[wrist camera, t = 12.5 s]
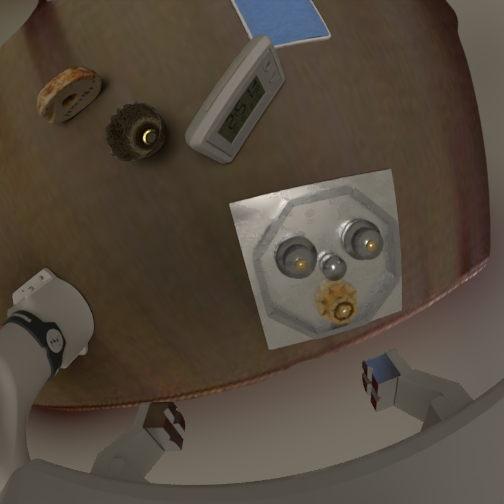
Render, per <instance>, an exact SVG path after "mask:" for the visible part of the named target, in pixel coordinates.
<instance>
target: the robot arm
mask: <svg viewBox="0 0 504 504" xmlns="http://www.w3.org/2000/svg"><path fill="white" fill-rule="evenodd" d="M13 303H14V306H12V307H11V308H10V309H9V310H8V318H7V319H6V320H5V322H4V324H3V325H1V326H0V504H504V379H502V380H501V381H500V382H498V383H497V384H496V385H495V386H493V387H492V388H490V389H489V390H488V391H486V392H485V393H484V394H482V395H481V396H479V397H478V398H477V399H475V400H473V399H472V398H471V397H470V396H469V394H468V393H467V392H466V391H465V389H464V388H463V387H462V386H461V385H460V383H457V382H454V381H450V380H447V379H444V378H441V377H437V376H434V375H431V374H428V373H425V372H422V371H419V370H416V369H415V370H412V369H411V368H410V366H409V365H408V364H407V362H406V361H405V360H404V359H403V357H402V356H401V355H400V353H399V352H398V351H397V350H396V349H392V350H390V351H387V352H385V353H382V354H380V355H377V356H374V357H372V358H369V359H366V360H363V362H362V368H363V370H364V373H363V374H362V381H363V386H364V389H365V391H366V393H367V394H368V395H370V396H371V403H372V405H373V407H374V409H375V411H376V412H377V411H380V410H383V409H385V408H388V407H390V406H393V405H394V406H395V407H397V408H399V409H401V410H402V411H404V412H406V413H408V414H410V415H411V416H413V417H415V418H417V419H419V420H421V421H423V422H424V423H423V426H422V428H421V431H420V432H419V433H417V434H415V435H413V436H411V437H408V438H406V439H404V440H402V441H400V442H398V443H395V444H393V445H390V446H388V447H386V448H383V449H381V450H378V451H375V452H373V453H370V454H368V455H365V456H362V457H359V458H356V459H353V460H350V461H347V462H344V463H340V464H337V465H334V466H330V467H326V468H322V469H319V470H315V471H310V472H306V473H302V474H297V475H292V476H287V477H282V478H276V479H269V480H262V481H254V482H246V483H234V484H219V485H170V484H155V483H150V482H148V481H147V480H146V479H145V478H144V477H145V475H146V474H147V473H148V472H149V471H150V470H151V468H152V467H153V466H154V465H155V463H156V462H157V461H158V460H159V459H160V457H161V456H162V455H163V454H164V451H181V450H182V445H183V438H182V437H181V435H182V434H183V433H184V432H185V420H184V417H183V415H182V414H181V413H180V412H178V411H177V410H176V408H177V406H176V405H175V404H174V402H152V403H142V404H141V405H140V407H139V410H138V412H137V415H136V418H135V421H134V424H133V426H132V428H129V429H128V430H127V431H125V433H123V434H122V435H121V436H119V437H118V438H117V439H116V440H115V441H114V442H112V443H111V444H110V445H109V446H107V447H106V448H105V449H104V450H103V451H101V452H100V453H99V454H98V455H97V457H96V460H95V462H94V465H93V468H92V470H91V473H85V472H81V471H77V470H73V469H70V468H66V467H63V466H59V465H56V464H53V463H50V462H47V461H44V460H41V459H34V460H31V459H30V456H29V453H28V448H27V440H26V425H27V418H28V414H29V411H30V408H31V406H32V404H33V402H34V400H35V398H36V396H37V395H38V393H39V392H40V390H41V388H42V387H43V385H44V384H45V383H46V381H48V380H50V379H51V378H52V377H53V376H55V375H56V373H57V372H58V370H59V368H67V367H68V366H69V364H70V363H71V362H72V361H73V360H74V359H75V358H76V357H77V356H78V355H85V354H86V353H87V352H88V342H89V340H90V338H91V337H92V335H93V331H94V321H93V316H92V313H91V310H90V308H89V306H88V304H87V302H86V301H85V299H84V298H83V297H82V295H81V294H80V293H79V292H78V291H77V290H76V289H75V288H74V287H73V286H72V285H70V284H69V283H67V282H65V281H63V280H61V279H59V278H58V277H56V276H55V275H54V274H53V273H52V272H51V271H50V270H49V269H48V268H44V269H42V270H41V271H40V272H39V273H37V274H36V275H35V276H33V277H32V278H31V279H30V280H29V281H27V282H26V283H25V284H24V285H22V286H21V287H20V288H19V289H18V290H16V291H15V292H14V293H13Z"/></svg>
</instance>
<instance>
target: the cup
mask: <svg viewBox="0 0 504 504" xmlns="http://www.w3.org/2000/svg"><path fill="white" fill-rule="evenodd" d="M150 132H154V133H155V134H156V139H155V141H154V142H153V143H149V142H147V140H146V136H147V134H148V133H150ZM105 133H106V136H107V137H106V138H105V143H107V144H109V145H110V149H112V151H113V152H111V154H112V155H113V156H115V157H117V158H118V159H119V160H121V161H131V162H133V161H136V160H140V159H144V158H147V157H150V156H152V155H153V154H155V153H156V152H157V151H158V150H159V149H160V148H161V147H162V145H163V143H164V141H165V138H166V127H165V124H164V122H163V120H162V118H161V117H160V115H159V114H158V113H157V112H156V110H155V109H154V108H153V107H151V106H150V105H148V104H147V103H145V102H142V103H138V102H134V103H133V105H132V104H129V105H128V104H126V105H124V106H123V108H119V109H117V115H112V116H111V122H110V123H109V124H108V125H107V126H106V128H105Z"/></svg>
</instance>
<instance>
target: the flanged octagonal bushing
mask: <svg viewBox="0 0 504 504" xmlns="http://www.w3.org/2000/svg"><path fill="white" fill-rule="evenodd" d="M316 302H317V308H318V313H319V315H320V316H321V317H323V318H325V319H327V320H329V321H331V322H335V323H337V324H339V325H340V324H343V323H347V322H350V321H351V320H352V319H353V317H354V316H355V315H356V313H357V312H358V311H357V305H358V302H357V290H356V289H355V288H354V287H353V286H351V285H349V284H348V283H346V282H345V281H343V280H342V279H341V280H338V281H334V282H330V283H327V284H325V285H324V287H323V288H322V289H321V291H320V292H319V294H318V295H317V296H316ZM341 302H345V303H346V305H347V306H348V308H349V309H350V314H349V315H348V316H347V317H342V316H341V315H340V313H339V312H338V310H337V309H336V308H335V307H336V306H337V305H338V303H341Z"/></svg>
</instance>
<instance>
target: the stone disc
mask: <svg viewBox="0 0 504 504" xmlns="http://www.w3.org/2000/svg"><path fill="white" fill-rule="evenodd" d="M101 83H102V82H101V78H100V77H99V75H98V74H97V73H96V72H95V71H94V70H91V69H89V68H86V67H75V68H70V69H67V70H66V71H64V72H63V73H61V74H59V75H58V76H57V77H56V78H55V79H53V80H52V81H51V82H50V83H48V84H47V85H46V86H45V87H44V89H42V90H41V92H40V93H39V95H38V98H37V109H38V113H39V115H40V117H42V118H44V119H45V120H47V121H48V122H50V123H51V124H58V123H61V122H63V121H65V120H68V119H69V118H71V117H73V116H75V115H76V114H77V113H78V112H79V111H80V110H82V109H84V108H85V107H86V106H87V105H88V104H90V103H91V102H92V101H93V100H94V99H95V98H96V97H97V95H98V94H99V92H100V89H101Z"/></svg>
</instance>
